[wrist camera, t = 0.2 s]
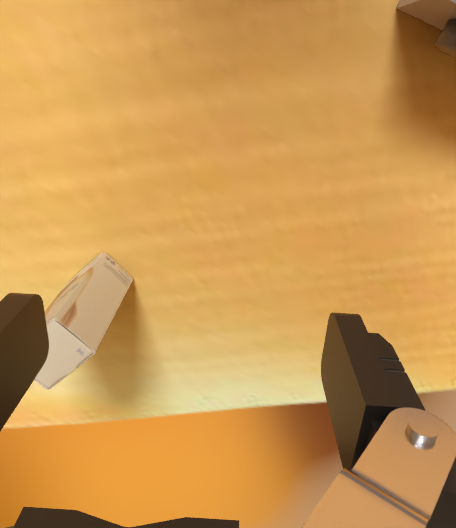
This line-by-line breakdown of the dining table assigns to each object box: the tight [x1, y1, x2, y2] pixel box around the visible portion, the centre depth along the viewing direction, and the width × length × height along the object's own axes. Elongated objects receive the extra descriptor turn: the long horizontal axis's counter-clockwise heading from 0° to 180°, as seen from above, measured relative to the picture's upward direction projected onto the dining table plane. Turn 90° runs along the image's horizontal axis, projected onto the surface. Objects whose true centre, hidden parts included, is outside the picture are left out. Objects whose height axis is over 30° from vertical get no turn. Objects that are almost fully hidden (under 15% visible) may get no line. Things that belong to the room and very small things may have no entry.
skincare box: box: [34, 252, 133, 389], centre depth 39 cm, size 6×4×12 cm
